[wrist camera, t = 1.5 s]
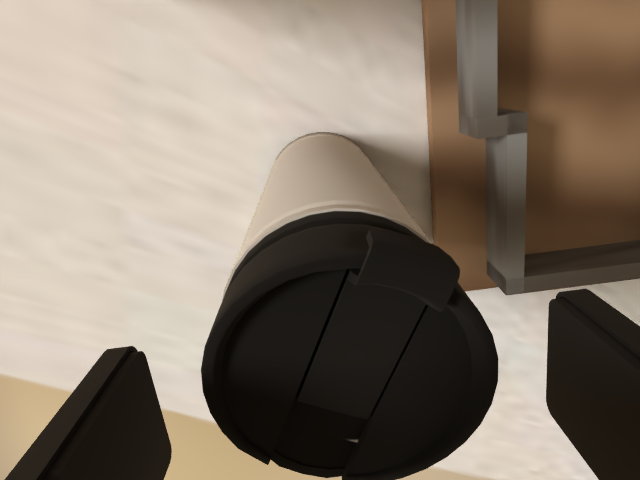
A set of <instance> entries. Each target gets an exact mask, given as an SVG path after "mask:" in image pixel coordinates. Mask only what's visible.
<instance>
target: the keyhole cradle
mask: <svg viewBox="0 0 640 480" xmlns="http://www.w3.org/2000/svg"><path fill="white" fill-rule="evenodd" d="M422 16H423V36H424V56H425V77H426V97H427V118H428V138H429V158H430V179H431V199H432V219H433V240H434V245H436V246H438V247H440V248H441V249H442V250H443V251H445V252H446V253H447V254H448V255H450V256H451V257H452V258H453V260H454V261H455V262H456V264H457V265H458V266H459V268H460V277H459V280H458V283H459V285H460V286H461V287H462V289H463V290H464V291H471V290H479V289H487V288H494V287H499V288H500V289H501V290H502V291H503V292H504V293H505V295H513V294H521V293H529V292H537V291H544V290H552V289H560V288H568V287H576V286H584V285H592V284H600V283H607V282H615V281H623V280H631V279H639V278H640V0H422Z"/></svg>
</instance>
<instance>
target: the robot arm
mask: <svg viewBox="0 0 640 480" xmlns="http://www.w3.org/2000/svg"><path fill="white" fill-rule="evenodd" d="M546 402H547V406H548V409H549V412H550V414H551V415H552V417H553V418H554V420H555V421H556V422H557V424H558V425H559V426H560V428H561V429H562V430H563V432H564V433H565V434H566V436H567V437H568V438H569V440H570V441H571V443H572V444H573V445H574V447H575V448H576V449H577V451H578V452H579V453H580V455H581V456H582V457H583V459H584V460H585V461H586V463H587V464H588V465H589V467H590V468H591V469H592V471H593V472H594V474H595V475H596V476H597V478H598V479H599V480H640V326H638V325H637V324H636V323H634V322H633V321H631V320H630V319H629V318H627V317H626V316H624V315H623V314H622V313H620V312H619V311H617V310H616V309H615V308H613V307H612V306H610V305H609V304H608V303H606V302H605V301H603V300H602V299H601V298H599V297H598V296H596V295H595V294H594V293H592V292H591V291H590V290H587V289H580V290H572V291H564V292H559V293H558V294H557V296H556V299H552V300H551V301H550V303H549V318H548V353H547V387H546ZM170 460H171V444H170V440H169V437H168V433H167V429H166V426H165V422H164V419H163V415H162V412H161V408H160V405H159V401H158V398H157V394H156V391H155V387H154V384H153V380H152V377H151V373H150V370H149V366H148V363H147V359H146V356H145V354H144V353H143V352H142V351H140V352H138V351H137V350H136V348H135V347H133V346H129V347H122V348H114V349H107V350H106V351H105V352H104V353H103V354H102V356H101V357H100V358H99V359H98V361H97V362H96V363H95V365H94V366H93V367H92V368H91V370H90V371H89V372H88V374H87V375H86V376H85V377H84V379H83V380H82V381H81V382H80V384H79V385H78V386H77V388H76V389H75V390H74V391H73V393H72V394H71V395H70V397H69V398H68V399H67V400H66V402H65V403H64V404H63V406H62V407H61V408H60V409H59V411H58V412H57V413H56V415H55V416H54V417H53V418H52V420H51V421H50V422H49V424H48V425H47V426H46V428H45V429H44V430H43V431H42V432H41V434H40V435H39V436H38V438H37V439H36V440H35V441H34V443H33V444H32V445H31V447H30V448H29V449H28V450H27V452H26V453H25V454H24V456H23V457H22V458H21V459H20V461H19V462H18V463H17V465H16V466H15V467H14V469H13V470H12V471H11V472H10V474H9V475H8V476H7V477H6V479H5V480H164V477H165V474H166V471H167V469H168V466H169V464H170Z"/></svg>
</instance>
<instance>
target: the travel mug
mask: <svg viewBox="0 0 640 480" xmlns="http://www.w3.org/2000/svg"><path fill="white" fill-rule="evenodd" d="M459 277H460V268H459V266H458V265H457V264H456V262H455V261H454V260H453V258H452V257H451V256H450V255H448V254H447V253H446V252H445V251H443V250H442V249H441V248H440V247H438V246H436V245H433V244H432V243H431V242H430V240H429V239H428V238H427V236H426V235H425V234H424V232H423V231H422V230H421V228H420V227H419V226H418V224H417V223H416V222H415V220H414V219H413V218H412V216H411V215H410V214H409V212H408V211H407V210H406V208H405V207H404V206H403V204H402V203H401V202H400V200H399V199H398V198H397V196H396V195H395V194H394V192H393V191H392V190H391V188H390V187H389V186H388V184H387V183H386V182H385V180H384V179H383V178H382V176H381V175H380V174H379V172H378V171H377V170H376V169H375V167H374V166H373V165H372V163H371V162H370V161H369V159H368V158H367V157H366V155H365V154H364V153H363V152H362V150H361V149H360V148H359V147H358V146H357V145H356V144H354V143H353V142H352V141H350V140H349V139H347V138H345V137H342V136H340V135H337V134H333V133H325V132H317V133H311V134H307V135H304V136H302V137H299V138H297V139H296V140H294V141H292V142H291V143H289V144H288V145H287V146H286V147H285V148H284V149H283V150H282V151H281V152H280V154H279V155H278V157H277V158H276V160H275V162H274V165H273V167H272V169H271V172H270V174H269V177H268V179H267V182H266V185H265V187H264V190H263V192H262V195H261V197H260V200H259V202H258V205H257V208H256V210H255V213H254V215H253V218H252V220H251V223H250V225H249V228H248V230H247V233H246V236H245V238H244V241H243V243H242V246H241V248H240V251H239V253H238V256H237V258H236V261H235V264H234V266H233V269H232V271H231V274H230V277H229V279H228V282H227V284H226V287H225V290H224V295H223V300H222V304H221V306H220V309H219V311H218V314H217V316H216V319H215V322H214V324H213V327H212V329H211V332H210V335H209V337H208V340H207V343H206V345H205V349H204V355H203V361H202V367H201V374H202V385H203V393H204V396H205V399H206V402H207V405H208V408H209V410H210V413H211V415H212V416H213V418H214V419H215V421H216V423H217V424H218V426H219V427H220V429H221V431H222V432H223V433H224V434H225V435H226V436H227V437H228V438H229V439H230V440H231V442H232V443H233V444H234V445H235V446H236V447H237V448H238V449H240V450H242V451H243V452H245V453H247V454H249V455H251V456H252V457H254V458H256V459H258V460H260V461H262V462H263V463H265V464H267V465H268V464H269V462H270V459H271V460H272V461H273V462H275V463H276V464H277V465H279V466H280V467H284V468H286V469H290V470H292V471H295V472H298V473H302V474H307V475H313V476H318V477H325V478H329V477H338V476H342V480H396V479H400V478H403V477H406V476H409V475H411V474H414V473H417V472H419V471H422V470H424V469H426V468H428V467H430V466H432V465H434V464H435V463H437V462H439V461H441V460H442V459H444V458H446V457H447V456H449V455H450V454H451V453H452V452H454V451H455V450H456V449H457V448H458V447H460V446H461V445H462V444H463V443H465V442H466V441H467V439H468V438H469V437H470V436H471V435H472V434H473V432H474V431H475V430H476V429H477V428H478V427H479V425H480V424H481V422H482V421H483V419H484V417H485V415H486V413H487V411H488V410H489V408H490V406H491V404H492V400H493V397H494V393H495V390H496V386H497V382H498V355H497V351H496V347H495V343H494V339H493V335H492V333H491V332H490V330H489V328H488V326H487V324H486V322H485V321H484V319H483V317H482V315H481V313H480V312H479V310H478V309H477V308H476V306H475V305H474V304H473V302H472V301H471V300H470V298H469V297H468V296H467V294H466V293H465V292H464V290H463V289H462V287H461V286H460V285H459V283H458V280H459Z"/></svg>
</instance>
